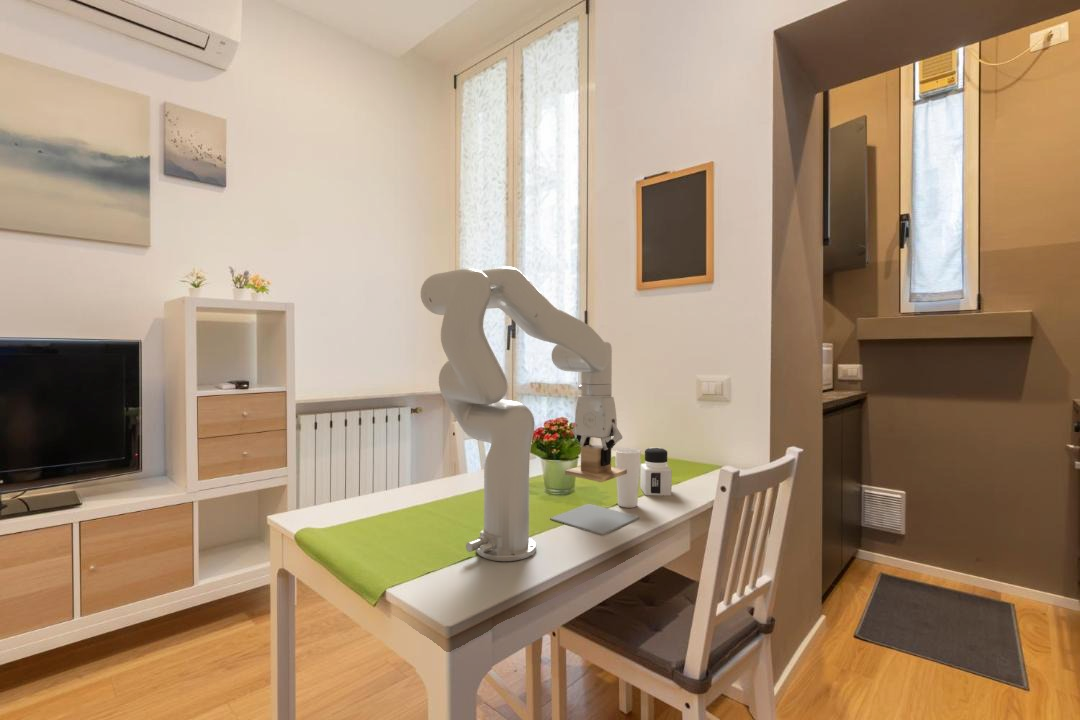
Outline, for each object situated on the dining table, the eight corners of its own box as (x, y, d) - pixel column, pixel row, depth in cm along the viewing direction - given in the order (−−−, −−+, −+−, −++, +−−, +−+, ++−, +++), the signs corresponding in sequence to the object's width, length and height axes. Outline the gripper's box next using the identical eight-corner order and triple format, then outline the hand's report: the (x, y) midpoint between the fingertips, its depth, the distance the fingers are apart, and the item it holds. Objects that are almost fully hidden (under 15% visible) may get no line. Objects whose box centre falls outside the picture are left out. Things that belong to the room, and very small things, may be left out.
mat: (602, 535, 118) (602, 533, 118) (549, 519, 129) (549, 517, 129) (639, 518, 130) (639, 516, 130) (588, 505, 141) (588, 503, 141)
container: (671, 496, 150) (672, 451, 150) (645, 495, 150) (645, 451, 150) (665, 488, 158) (666, 446, 157) (640, 488, 158) (640, 446, 158)
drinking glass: (639, 502, 144) (639, 448, 143) (641, 509, 137) (642, 453, 137) (614, 501, 144) (614, 447, 144) (615, 508, 138) (616, 452, 137)
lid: (601, 482, 122) (601, 452, 121) (565, 474, 129) (565, 446, 129) (626, 473, 130) (627, 445, 130) (591, 466, 137) (591, 440, 137)
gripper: (560, 389, 132) (560, 460, 132) (616, 394, 120) (616, 471, 121) (578, 387, 137) (578, 456, 138) (634, 391, 126) (633, 466, 126)
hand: (596, 462), depth 129 cm, fingers closed on lid, 5 cm apart
